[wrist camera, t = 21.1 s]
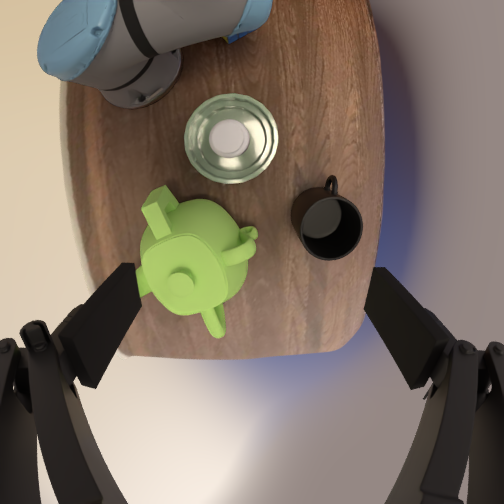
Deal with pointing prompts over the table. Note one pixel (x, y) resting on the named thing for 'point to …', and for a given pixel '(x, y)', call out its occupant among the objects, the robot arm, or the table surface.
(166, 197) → the teapot
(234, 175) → the bowl
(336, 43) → the table surface
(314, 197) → the mug
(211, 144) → the pill bottle
